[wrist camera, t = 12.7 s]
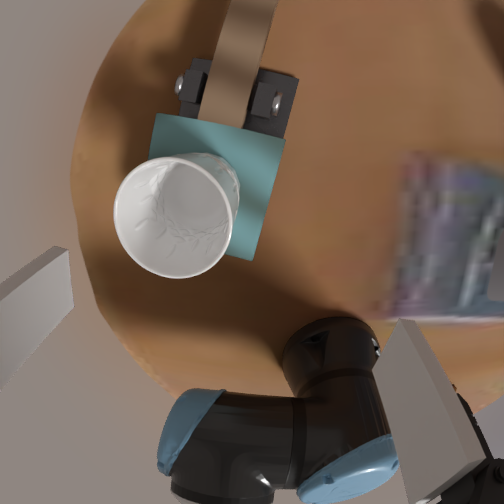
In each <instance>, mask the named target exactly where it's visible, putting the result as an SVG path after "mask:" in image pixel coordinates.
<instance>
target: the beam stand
mask: <svg viewBox="0 0 504 504" xmlns="http://www.w3.org/2000/svg"><path fill="white" fill-rule="evenodd" d="M211 64H212V60H205V59H198V58H193V60H192V64H191V67H190V70H189V69H186V72H185V74H180V75H179V76H178V78H177V81H176V84H175V95H176V96H179V99H178V100H180V101H182V102H181V107H180V111H179V115H178V116H182V117H188V118H194V119H198V115H199V111H200V106H201V102H202V98H203V94H204V90H205V87H206V83H207V79H208V75H209V72H210V68H211ZM298 82H299V79H297V78H293V77H290V76H286V75H282V74H278V73H274V72H270V71H265V70H261V69H258V73H257V76H256V80H255V84H254V87H253V91H252V95H251V99H250V102H249V106H248V110H247V114H246V118H245V122H244V126H243V129H247V130H251V131H255V132H259V133H263V134H267V135H271V136H275V137H279V138H282V139H283V137H284V133H285V130H286V126H287V122H288V119H289V115H290V111H291V108H292V104H293V100H294V97H295V93H296V89H297V86H298Z"/></svg>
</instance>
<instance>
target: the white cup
mask: <svg viewBox="0 0 504 504" xmlns="http://www.w3.org/2000/svg"><path fill="white" fill-rule="evenodd" d="M239 193H240V182H239V180H238V177H237V174H236V171H235V169H234V168H233V167H232V166H231V165H230V164H229V163H228V162H227V161H226V160H225V159H224V158H222V157H220V156H217V155H214V154H211V153H207V152H205V153H184V154H177V155H172V156H166V157H160V158H155V159H152V160H149V161H146V162H144V163H142V164H140V165H139V166H137V167H136V168H134V169H133V170H132V171H131V172H130V173H129V174H128V175H127V176H126V177H125V179H124V180H123V182H122V183H121V185H120V187H119V189H118V191H117V194H116V197H115V202H114V211H113V215H114V224H115V229H116V232H117V235H118V238H119V240H120V242H121V244H122V246H123V247H124V249H125V250H126V252H127V253H128V254H129V255H130V257H131V258H132V259H133V260H134V261H135V262H137V263H138V264H139V265H140V266H142V267H143V268H145V269H146V270H148V271H150V272H152V273H154V274H157V275H159V276H163V277H167V278H189V277H193V276H196V275H199V274H201V273H203V272H205V271H207V270H208V269H210V268H211V267H213V266H214V265H215V264H216V263H217V262H218V261H219V260H220V258H221V257H222V256H223V254H224V253H225V251H226V249H227V247H228V245H229V242H230V239H231V235H232V231H233V227H234V223H235V219H236V216H237V210H238V205H239Z"/></svg>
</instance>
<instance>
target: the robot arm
mask: <svg viewBox="0 0 504 504" xmlns="http://www.w3.org/2000/svg"><path fill="white" fill-rule="evenodd" d="M73 308H74V301H73V292H72V284H71V274H70V265H69V250H68V249H64V248H61V247H57V246H54V247H52V248H51V249H49V250H48V251H46V252H45V253H43V254H42V255H40V256H39V257H37V258H36V259H35V260H33V261H32V262H30V263H29V264H27V265H26V266H24V267H23V268H21V269H20V270H19V271H17V272H16V273H15V274H13V275H12V276H10V277H9V278H8V279H6V280H5V281H3V282H2V283H1V284H0V392H1V390H2V389H3V388H4V387H5V385H6V384H7V383H8V382H9V380H10V379H11V378H12V377H13V375H14V374H15V373H16V372H17V370H18V369H19V368H20V367H21V366H22V365H23V363H24V362H25V361H26V360H27V359H28V357H29V356H30V355H31V354H32V353H33V352H34V351H35V349H36V348H37V347H38V346H39V345H40V344H41V342H42V341H43V340H44V339H45V338H46V337H47V336H48V335H49V334H50V332H51V331H52V330H53V329H54V328H55V327H56V326H57V325H58V324H59V323H60V322H61V321H62V319H64V317H65V316H66V315H67V314H68V313H69V312H70V311H71V310H72V309H73ZM283 372H284V376H285V378H286V380H287V382H288V384H289V386H290V388H291V390H292V392H293V394H294V396H295V397H281V396H267V395H256V394H246V393H236V392H228V391H227V390H225V389H221V390H210V389H200V388H193V389H189V390H187V391H185V392H184V393H183V394H182V395H181V396H180V397H179V398H178V399H177V400H176V402H175V404H174V405H173V407H172V409H171V411H170V413H169V415H168V417H167V420H166V422H165V425H164V428H163V431H162V434H161V438H160V442H159V446H158V452H157V459H158V463H157V467H158V469H159V471H160V472H161V473H163V474H165V475H166V476H171V477H172V482H171V493H172V494H173V495H174V496H175V497H176V499H177V500H178V501H179V502H180V503H181V504H273V499H274V491H275V490H276V489H296V490H297V495H298V496H299V499H300V500H301V501H302V502H304V503H307V504H309V503H312V504H329V503H335V502H339V501H344V500H347V499H351V498H354V497H357V496H360V495H362V494H365V493H367V492H369V491H371V490H373V489H375V488H377V487H379V486H380V485H382V484H383V483H385V482H386V481H387V480H389V479H390V478H391V477H392V476H393V474H395V472H396V471H397V469H398V467H399V464H400V467H401V472H402V476H403V480H404V484H405V489H406V493H407V498H408V502H409V504H425V503H428V502H430V501H431V500H433V499H434V498H436V497H437V496H439V495H441V499H442V500H441V501H440V502H438V503H437V504H504V459H500V458H498V459H494V458H493V456H492V454H491V452H490V449H489V447H488V445H487V443H486V440H485V438H484V436H483V434H482V432H481V429H480V427H479V426H477V421H476V419H475V417H473V413H472V411H471V409H470V407H469V405H468V403H467V402H466V401H465V400H464V399H463V398H462V397H461V396H460V394H459V393H456V392H455V390H454V388H453V387H452V385H451V383H450V381H449V379H448V377H447V375H446V374H445V372H444V370H443V368H442V366H441V365H440V363H439V361H438V359H437V358H436V356H435V354H434V352H433V351H432V349H431V347H430V345H429V344H428V342H427V340H426V339H425V337H424V335H423V334H422V332H421V330H420V329H419V327H418V326H417V324H416V322H415V321H413V320H406V319H399V320H398V322H397V324H396V326H395V328H394V330H393V332H392V334H391V336H390V338H389V340H388V342H387V343H386V345H385V347H384V349H383V351H382V353H381V351H380V346H379V343H378V340H377V338H376V335H375V334H374V332H373V330H372V329H371V328H370V327H369V326H368V325H366V324H365V323H363V322H361V321H359V320H356V319H353V318H347V317H331V318H325V319H321V320H318V321H315V322H313V323H310V324H308V325H306V326H305V327H303V328H302V329H300V330H299V331H297V332H296V333H295V334H294V335H293V336H292V337H291V338H290V340H289V341H288V342H287V344H286V346H285V348H284V351H283Z"/></svg>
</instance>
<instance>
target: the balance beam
mask: <svg viewBox="0 0 504 504" xmlns="http://www.w3.org/2000/svg"><path fill="white" fill-rule="evenodd" d="M278 1H279V0H231V2H230V5H229V8H228V11H227V15H226V18H225V21H224V24H223V27H222V30H221V33H220V37H219V40H218V43H217V47H216V50H215V54H214V57H213V61H212V64H211V68H210V72H209V75H208V79H207V83H206V87H205V90H204V94H203V98H202V102H201V106H200V111H199V115H198V119H194V118H188V117H182V116H176V115H170V114H163V113H157V114H156V118H155V123H154V128H153V133H152V139H151V144H150V149H149V155H148V161H149V160H152V159H155V158H160V157H166V156H172V155H177V154H184V153H205V152H207V153H211V154H214V155H217V156H220V157H222V158H224V159H225V160H226V161H227V162H228V163H229V164H230V165H231V166H232V167H233V168H234V169H235V171H236V174H237V177H238V180H239V182H240V193H239V205H238V210H237V216H236V219H235V223H234V227H233V231H232V235H231V239H230V242H229V245H228V247H227V249H226V251H225V253H224V254H226V255H230V256H234V257H238V258H242V259H246V260H250V261H253V257H254V253H255V250H256V246H257V243H258V239H259V235H260V232H261V228H262V224H263V221H264V217H265V214H266V210H267V206H268V203H269V199H270V195H271V192H272V188H273V184H274V181H275V177H276V174H277V170H278V166H279V163H280V159H281V155H282V152H283V148H284V144H285V141H286V140H285V139H282V138H279V137H275V136H271V135H267V134H263V133H259V132H255V131H251V130H247V129H243V126H244V122H245V118H246V114H247V110H248V106H249V102H250V99H251V95H252V91H253V87H254V84H255V80H256V76H257V73H258V69H259V66H260V62H261V58H262V55H263V51H264V48H265V44H266V41H267V38H268V34H269V31H270V27H271V24H272V21H273V17H274V14H275V11H276V7H277V4H278Z"/></svg>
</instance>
